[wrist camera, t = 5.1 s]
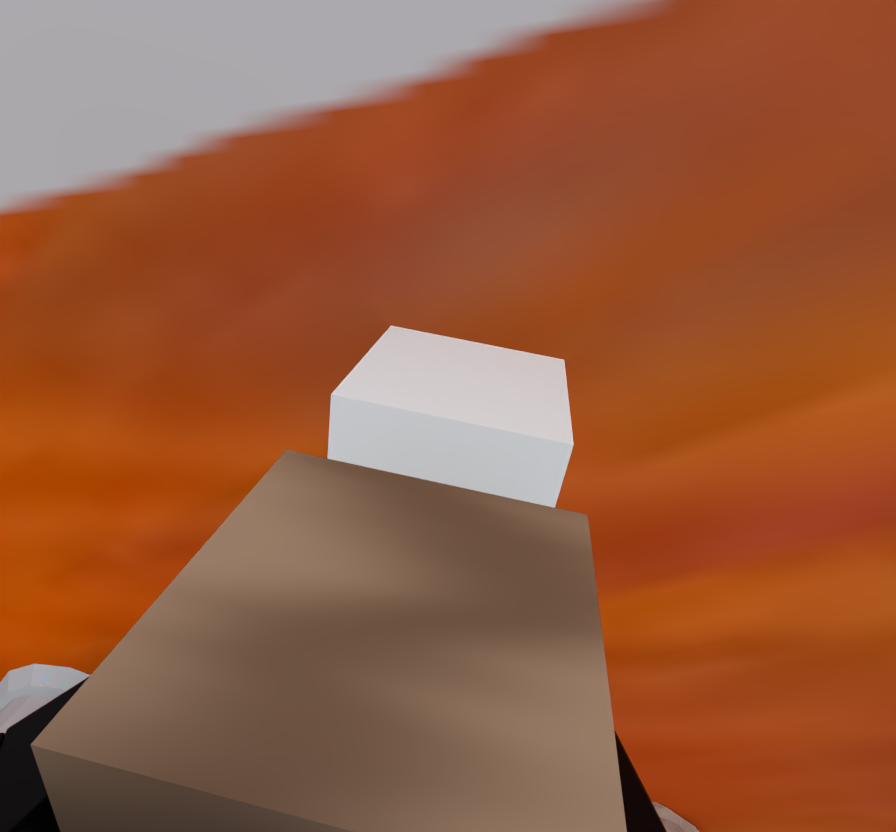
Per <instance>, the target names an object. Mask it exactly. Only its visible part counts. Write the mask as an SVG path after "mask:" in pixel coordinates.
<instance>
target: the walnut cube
mask: <svg viewBox="0 0 896 832" xmlns="http://www.w3.org/2000/svg"><path fill="white" fill-rule="evenodd" d="M31 748H32V751H33V754H34V756H35V759H36V762H37V765H38V768H39V771H40V774H41V777H42V780H43V783H44V786H45V789H46V791H47V794H48V797H49V800H50V803H51V806H52V809H53V812H54V815H55V818H56V821H57V823H58V826H59V829H60V832H627V829H626V821H625V813H624V805H623V797H622V789H621V781H620V773H619V765H618V757H617V749H616V741H615V733H614V724H613V716H612V708H611V700H610V692H609V684H608V676H607V668H606V660H605V652H604V644H603V636H602V628H601V620H600V612H599V604H598V596H597V588H596V580H595V572H594V564H593V556H592V548H591V540H590V532H589V524H588V515H586V514H581V513H577V512H572V511H567V510H563V509H558V508H554V507H549V506H544V505H540V504H535V503H530V502H526V501H521V500H517V499H512V498H507V497H503V496H498V495H493V494H489V493H484V492H480V491H475V490H470V489H466V488H461V487H457V486H452V485H447V484H443V483H438V482H433V481H429V480H424V479H420V478H415V477H410V476H406V475H401V474H396V473H392V472H387V471H383V470H378V469H373V468H369V467H364V466H360V465H355V464H350V463H346V462H341V461H336V460H332V459H327V458H323V457H318V456H313V455H309V454H304V453H300V452H295V451H290V450H286V451H285V452H284V453H283V455H282V456H281V457H280V458H279V459H278V460H277V461H276V463H275V464H274V465H273V466H272V467H271V468H270V469H269V471H268V472H267V473H266V474H265V475H264V476H263V478H262V479H261V480H260V481H259V482H258V483H257V484H256V486H255V487H254V488H253V489H252V490H251V491H250V493H249V494H248V495H247V496H246V497H245V498H244V499H243V501H242V502H241V503H240V504H239V505H238V506H237V507H236V509H235V510H234V511H233V512H232V513H231V514H230V516H229V517H228V518H227V519H226V520H225V521H224V522H223V524H222V525H221V526H220V527H219V528H218V529H217V531H216V532H215V533H214V534H213V535H212V536H211V537H210V539H209V540H208V541H207V542H206V543H205V544H204V545H203V547H202V548H201V549H200V550H199V551H198V552H197V554H196V555H195V556H194V557H193V558H192V559H191V560H190V562H189V563H188V564H187V565H186V566H185V567H184V569H183V570H182V571H181V572H180V573H179V574H178V575H177V577H176V578H175V579H174V580H173V581H172V582H171V583H170V585H169V586H168V587H167V588H166V589H165V590H164V592H163V593H162V594H161V595H160V596H159V597H158V598H157V600H156V601H155V602H154V603H153V604H152V605H151V607H150V608H149V609H148V610H147V611H146V612H145V613H144V615H143V616H142V617H141V618H140V619H139V620H138V621H137V623H136V624H135V625H134V626H133V627H132V628H131V630H130V631H129V632H128V633H127V634H126V635H125V636H124V638H123V639H122V640H121V641H120V642H119V643H118V644H117V646H116V647H115V648H114V649H113V650H112V651H111V653H110V654H109V655H108V656H107V657H106V658H105V659H104V661H103V662H102V663H101V664H100V665H99V666H98V668H97V669H96V670H95V671H94V672H93V673H92V674H91V676H90V677H89V678H88V679H87V680H86V681H85V682H84V684H83V685H82V686H81V687H80V688H79V689H78V691H77V692H76V693H75V694H74V695H73V696H72V697H71V699H70V700H69V701H68V702H67V703H66V704H65V706H64V707H63V708H62V709H61V710H60V711H59V712H58V714H57V715H56V716H55V717H54V718H53V719H52V720H51V722H50V723H49V724H48V725H47V726H46V727H45V729H44V730H43V731H42V732H41V733H40V734H39V735H38V737H37V738H36V739H35V740H34V741H33V742H32V744H31Z"/></svg>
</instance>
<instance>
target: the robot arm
mask: <svg viewBox="0 0 896 832" xmlns="http://www.w3.org/2000/svg"><path fill="white" fill-rule="evenodd" d="M90 676H91V675H90ZM90 676H89V677H90ZM89 677H87V678H86V679H84V680H83V681H81V682H79V683H78V684H76V685H75V686H73V687H72V688H70V689H68V690H67V691H65V692H64V693H62V694H61V695H59V696H57V697H56V698H54V699H53V700H51V701H50V702H48V703H46V704H45V705H43V706H42V707H40V708H39V709H37V710H35V711H34V712H32V713H31V714H29V715H28V716H26V717H24V718H23V719H21V720H20V721H18V722H17V723H15V724H13V725H12V726H10V727H9V728H8V729H7V730H6V733H3V732H2V733H0V832H60V829H59V826H58V823H57V821H56V818H55V815H54V812H53V809H52V806H51V803H50V800H49V797H48V794H47V791H46V789H45V786H44V783H43V780H42V777H41V774H40V771H39V768H38V765H37V762H36V759H35V756H34V754H33V751H32V748H31V744H32V742H33V741H34V740H35V739H36V738H37V737H38V735H39V734H40V733H41V732H42V731H43V730H44V729H45V727H46V726H47V725H48V724H49V723H50V722H51V720H52V719H53V718H54V717H55V716H56V715H57V714H58V712H59V711H60V710H61V709H62V708H63V707H64V706H65V704H66V703H67V702H68V701H69V700H70V699H71V697H72V696H73V695H74V694H75V693H76V692H77V691H78V689H79V688H80V687H81V686H82V685H83V684H84V682H85V681H86V680H87V679H88V678H89ZM614 733H615V741H616V749H617V757H618V765H619V773H620V781H621V789H622V797H623V805H624V813H625V821H626V829H627V832H667V831H666V829H665V827H664V825H663V823H662V821H661V819H660V817H659V815H658V813H657V811H656V809H655V808H654V806H653V804H652V802H651V800H650V798H649V796H648V794H647V792H646V790H645V788H644V786H643V784H642V782H641V780H640V778H639V776H638V774H637V773H636V771H635V769H634V767H633V765H632V763H631V761H630V759H629V757H628V755H627V753H626V751H625V749H624V747H623V745H622V743H621V741H620V740H619V738H618V736H617V734H616V732H615V730H614Z"/></svg>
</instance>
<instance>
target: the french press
mask: <svg viewBox="0 0 896 832" xmlns="http://www.w3.org/2000/svg"><path fill="white" fill-rule="evenodd" d="M89 676H90V675H89V674H86V673H83V672H81V671H78V670H75V669H73V668H70V667H61V666H52V665H43V664H32V665H28V666H25V667H21V668H17V669H14V670H10V671H9V672H8V673H7V674H6V676H5V677H4V678H3V680H2V681H1V683H0V733H2V732H3V733H6V730H7V729H8V728H9V727H10V726H12V725H13V724H15V723H17V722H18V721H20V720H21V719H23V718H24V717H26V716H28V715H29V714H31V713H32V712H34V711H35V710H37V709H39V708H40V707H42V706H43V705H45V704H46V703H48V702H50V701H51V700H53V699H54V698H56V697H57V696H59V695H61V694H62V693H64V692H65V691H67V690H68V689H70V688H72V687H73V686H75V685H76V684H78V683H79V682H81V681H83V680H84V679H86V678H87V677H89Z"/></svg>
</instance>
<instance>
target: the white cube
mask: <svg viewBox="0 0 896 832" xmlns="http://www.w3.org/2000/svg"><path fill="white" fill-rule="evenodd" d="M573 445H574V444H573V435H572V426H571V417H570V408H569V398H568V389H567V380H566V371H565V362H564V360H563V359H558V358H553V357H547V356H542V355H537V354H532V353H527V352H522V351H517V350H512V349H507V348H502V347H497V346H492V345H486V344H481V343H476V342H471V341H466V340H461V339H456V338H451V337H446V336H441V335H436V334H431V333H425V332H420V331H415V330H410V329H405V328H400V327H395V326H390V327H389V329H388V330H387V331H386V332H385V333H384V334H383V335H382V337H381V338H380V339H379V340H378V341H377V342H376V343H375V345H374V346H373V347H372V348H371V349H370V350H369V351H368V353H367V354H366V355H365V356H364V357H363V358H362V359H361V361H360V362H359V363H358V364H357V365H356V366H355V367H354V369H353V370H352V371H351V372H350V373H349V374H348V376H347V377H346V378H345V379H344V380H343V381H342V382H341V384H340V385H339V386H338V387H337V388H336V389H335V390H334V392H333V393H332V394H331V405H330V423H329V441H328V459H332V460H336V461H341V462H346V463H350V464H355V465H360V466H364V467H369V468H373V469H378V470H383V471H387V472H392V473H396V474H401V475H406V476H410V477H415V478H420V479H424V480H429V481H433V482H438V483H443V484H447V485H452V486H457V487H461V488H466V489H470V490H475V491H480V492H484V493H489V494H493V495H498V496H503V497H507V498H512V499H517V500H521V501H526V502H530V503H535V504H540V505H544V506H549V507H554V508H555V505H556V502H557V498H558V495H559V492H560V488H561V485H562V482H563V478H564V475H565V472H566V468H567V465H568V462H569V458H570V455H571V452H572V448H573Z"/></svg>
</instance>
